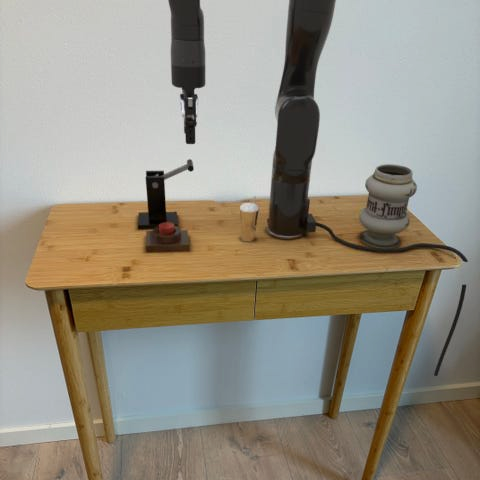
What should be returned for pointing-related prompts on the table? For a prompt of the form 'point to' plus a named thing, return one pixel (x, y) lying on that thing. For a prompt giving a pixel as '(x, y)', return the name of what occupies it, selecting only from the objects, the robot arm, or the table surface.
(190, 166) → the switch lever
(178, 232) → the button block
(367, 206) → the apothecary jar
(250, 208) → the milkshake
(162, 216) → the switch bracket
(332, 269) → the table surface
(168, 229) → the button
